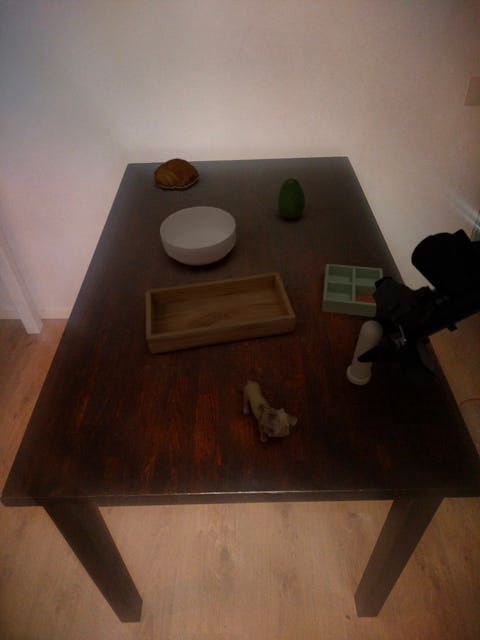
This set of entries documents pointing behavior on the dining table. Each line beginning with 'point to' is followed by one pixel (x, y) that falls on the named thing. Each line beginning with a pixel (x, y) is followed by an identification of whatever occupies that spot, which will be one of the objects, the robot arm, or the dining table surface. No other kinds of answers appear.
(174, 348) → the tray
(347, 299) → the grid
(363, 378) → the beige rounded cylinder
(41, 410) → the dining table surface
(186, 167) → the croissant
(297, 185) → the fruit
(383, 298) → the robot arm
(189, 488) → the dining table surface
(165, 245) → the bowl
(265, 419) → the lion figurine
